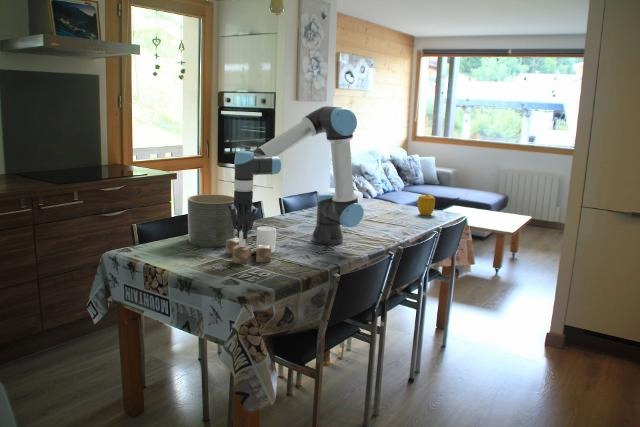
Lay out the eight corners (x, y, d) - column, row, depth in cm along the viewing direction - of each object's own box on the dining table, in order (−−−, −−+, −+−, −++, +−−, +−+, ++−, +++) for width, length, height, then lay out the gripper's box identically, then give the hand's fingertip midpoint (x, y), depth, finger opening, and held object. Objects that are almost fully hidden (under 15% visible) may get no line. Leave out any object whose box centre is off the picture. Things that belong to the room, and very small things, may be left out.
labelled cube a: (245, 253, 238) (246, 239, 237) (235, 255, 234) (236, 242, 233) (236, 250, 242) (236, 237, 241) (226, 253, 237) (226, 239, 236)
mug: (268, 245, 251) (268, 224, 249) (283, 249, 248) (284, 226, 245) (252, 251, 241) (253, 228, 239) (268, 254, 237) (268, 231, 235)
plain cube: (251, 260, 229) (251, 246, 228) (246, 264, 223) (246, 249, 222) (237, 258, 230) (237, 244, 229) (232, 262, 224) (232, 248, 223)
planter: (177, 243, 248) (177, 199, 244) (204, 233, 268) (205, 192, 264) (220, 250, 241) (221, 205, 236) (244, 239, 261) (245, 197, 257)
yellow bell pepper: (421, 212, 347) (422, 192, 344) (436, 215, 341) (438, 194, 338) (413, 214, 338) (415, 194, 335) (429, 217, 332) (431, 196, 329)
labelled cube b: (271, 258, 233) (271, 244, 232) (270, 262, 227) (271, 248, 226) (256, 257, 233) (257, 244, 231) (256, 262, 227) (256, 248, 225)
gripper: (262, 190, 222) (260, 246, 227) (234, 186, 226) (233, 242, 231) (253, 192, 215) (251, 250, 220) (224, 189, 219) (223, 246, 224)
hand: (242, 246), depth 226 cm, fingers closed
